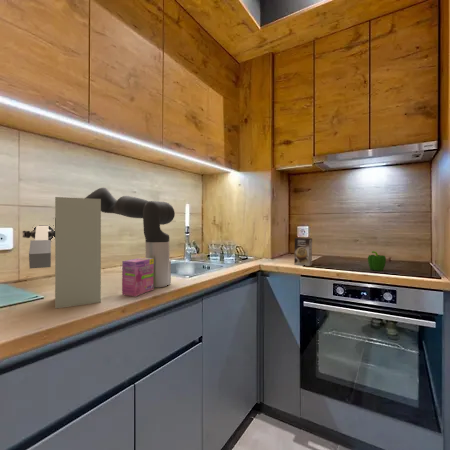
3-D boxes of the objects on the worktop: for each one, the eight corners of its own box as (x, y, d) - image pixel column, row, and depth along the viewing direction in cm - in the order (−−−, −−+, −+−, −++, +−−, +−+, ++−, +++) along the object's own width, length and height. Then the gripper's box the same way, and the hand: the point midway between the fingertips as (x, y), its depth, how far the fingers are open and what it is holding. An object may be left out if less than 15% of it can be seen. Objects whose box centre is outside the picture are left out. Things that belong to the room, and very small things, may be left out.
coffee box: (293, 264, 166) (294, 237, 166) (297, 263, 172) (297, 237, 172) (309, 266, 161) (309, 238, 161) (312, 264, 167) (312, 238, 167)
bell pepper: (389, 271, 144) (390, 251, 144) (377, 271, 142) (377, 252, 142) (376, 268, 152) (376, 250, 152) (364, 269, 150) (364, 250, 150)
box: (135, 296, 93) (135, 261, 93) (121, 295, 95) (121, 260, 95) (154, 290, 102) (154, 258, 102) (141, 288, 104) (141, 257, 104)
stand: (55, 298, 90) (55, 200, 90) (95, 294, 96) (95, 201, 96) (55, 308, 80) (55, 196, 79) (100, 302, 86) (100, 199, 86)
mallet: (33, 234, 109) (32, 221, 106) (51, 234, 112) (51, 221, 109) (29, 268, 93) (28, 253, 90) (50, 267, 96) (50, 253, 93)
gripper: (62, 241, 123) (63, 244, 108) (23, 242, 115) (18, 245, 101) (62, 224, 123) (63, 224, 108) (23, 224, 115) (18, 224, 101)
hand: (41, 234), depth 104 cm, fingers closed on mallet, 4 cm apart
